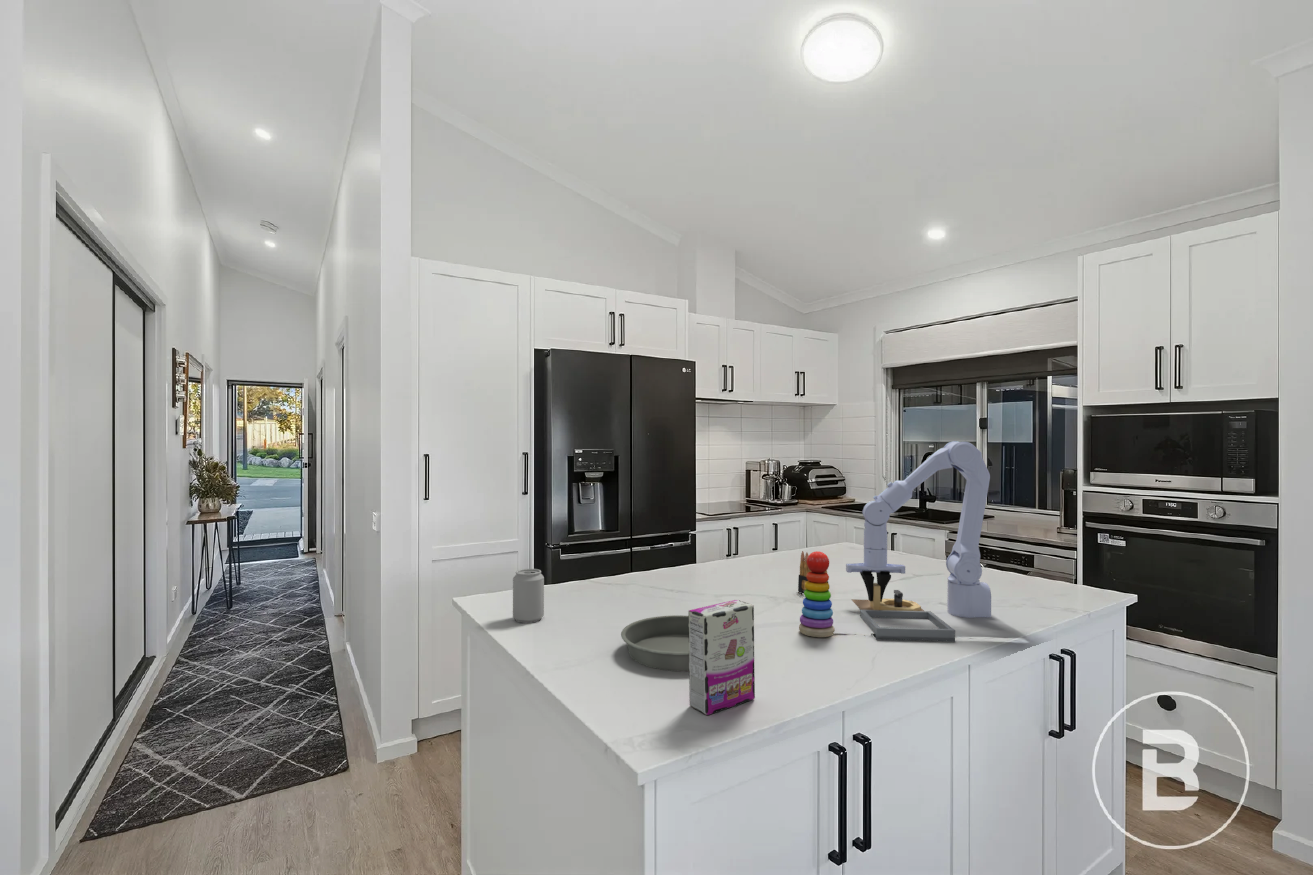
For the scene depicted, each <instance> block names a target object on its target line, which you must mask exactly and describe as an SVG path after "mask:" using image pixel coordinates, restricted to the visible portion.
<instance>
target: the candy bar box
mask: <svg viewBox="0 0 1313 875" xmlns="http://www.w3.org/2000/svg"><path fill="white" fill-rule="evenodd" d="M754 607H755V605H754V604H750V603H748V602H745V601H741V600H739V599H734V600H729V601H724V602H720V603H715V604H711V605H707V606H702V607H698V608H694V609H688V611H687V612H688V615H687V616H688V618H689V671H688V672H689V674H688V676H689V677H688V678H689V680H688V682H689V685H688V686H689V687H688V688H689V691H688V692H689V707H691V708H692V709H694V710H696V711H698V712H700V713H702V714H703V715H706V716H710V715H713V714H716V713H719V712H721V711H724V710H727V709H730V708H733V707H736V706H738V705H741V704H744V703H746V702H749V701H752V700H755V698H756V694H755V693H756V692H755V691H756V690H755V685H756V684H755V678H756V677H755V608H754Z"/></svg>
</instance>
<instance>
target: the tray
mask: <svg viewBox="0 0 1313 875" xmlns="http://www.w3.org/2000/svg"><path fill="white" fill-rule="evenodd" d="M859 616H860V618H861V619H862V620H863V621H864V623H865V624H866V625H867V626H868V628H869V629H870V630H871V631H872V632H873V633H871V635H872V636H873V637H874V639H875V640H877V641H878V640H883V641H884V640H885V641H910V642H911V641H912V642H913V641H915V642H918V641H919V642H920V641H921V642H953V643H954V642H956V630H955V629H954V628H953V627H951V626H950V625H949V624H948V623H947V622H945V621H944V620H942V619H941V618H940V617H939V616H938V615H936V614H935V613H933V611H931V610H929V611H928V610H927V611H926V610H924V611H896V610H860V609H859ZM873 618H879V619H880V618H881V619H882V618H883V619H923V620H924V619H927V620H929V621H930V623H933V624H934V625H935V626H936V627H937V628H929V627H924V628H923V627H892V626H891V627H890V626H889V627H888V626H887V627H885V626H880V625H879V624H878V623H877V622H876V621H875V620H874V619H873Z"/></svg>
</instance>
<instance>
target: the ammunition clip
mask: <svg viewBox="0 0 1313 875" xmlns="http://www.w3.org/2000/svg"><path fill="white" fill-rule="evenodd" d="M805 552H806V553H805ZM805 552H804V551H803V550H802V551H801V553H800V562H799V574H798V578H797V580H798V582H797V588H798V589H797V592H798V591H799V592H801V593H800V594H802V593H804V591H805V590H806V588H805V583H806V582H807V581H809V580H808V579H807V573H809V572H811V570H810V569H809V568H808V566H807V558H808V556H809V553H808V551H805ZM825 573H827V574H828V569H827V570H826V571H825ZM827 583H828V584H829V580H828V581H827ZM828 591H829V592H830V590H828ZM799 592H798V593H799Z"/></svg>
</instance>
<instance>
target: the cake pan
mask: <svg viewBox="0 0 1313 875" xmlns="http://www.w3.org/2000/svg"><path fill="white" fill-rule="evenodd" d="M620 637H621V639H622V640H623V642H624V643H626V646H627V649H628V653H629V656H630V658H631V659H632V660H633V661H634V662H636V663H638V664H641V665H643V666H645V667H649V668H653V669H656V670H657V669H658V670H663V671H672V672H673V671H675V672H677V671H678V672H689V618H688V615H678V614H677V615H673V614H672V615H659V616H658V615H657V616H652V617H647V618H642V619H639V620H636V621H633V622H631V623H629V624H627V625H626V626H625V627H623V629H622V630H621V633H620Z"/></svg>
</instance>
